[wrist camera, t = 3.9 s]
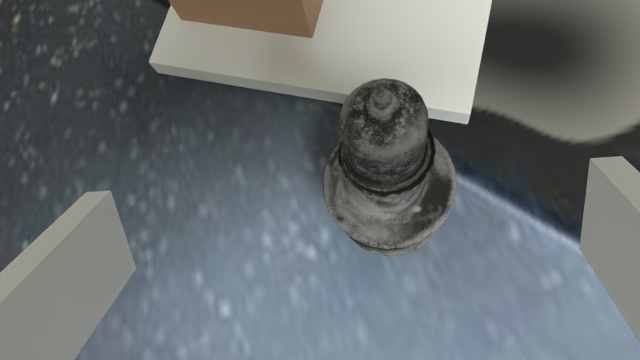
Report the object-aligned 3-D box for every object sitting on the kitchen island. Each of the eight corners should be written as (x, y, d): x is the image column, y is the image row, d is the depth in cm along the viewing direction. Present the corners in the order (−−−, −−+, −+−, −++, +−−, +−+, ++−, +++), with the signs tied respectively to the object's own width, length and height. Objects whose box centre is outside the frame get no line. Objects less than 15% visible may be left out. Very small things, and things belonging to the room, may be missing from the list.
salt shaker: (322, 163, 27) (267, 32, 16) (432, 138, 27) (455, -15, 16) (344, 273, 26) (299, 210, 14) (463, 248, 25) (514, 162, 14)
